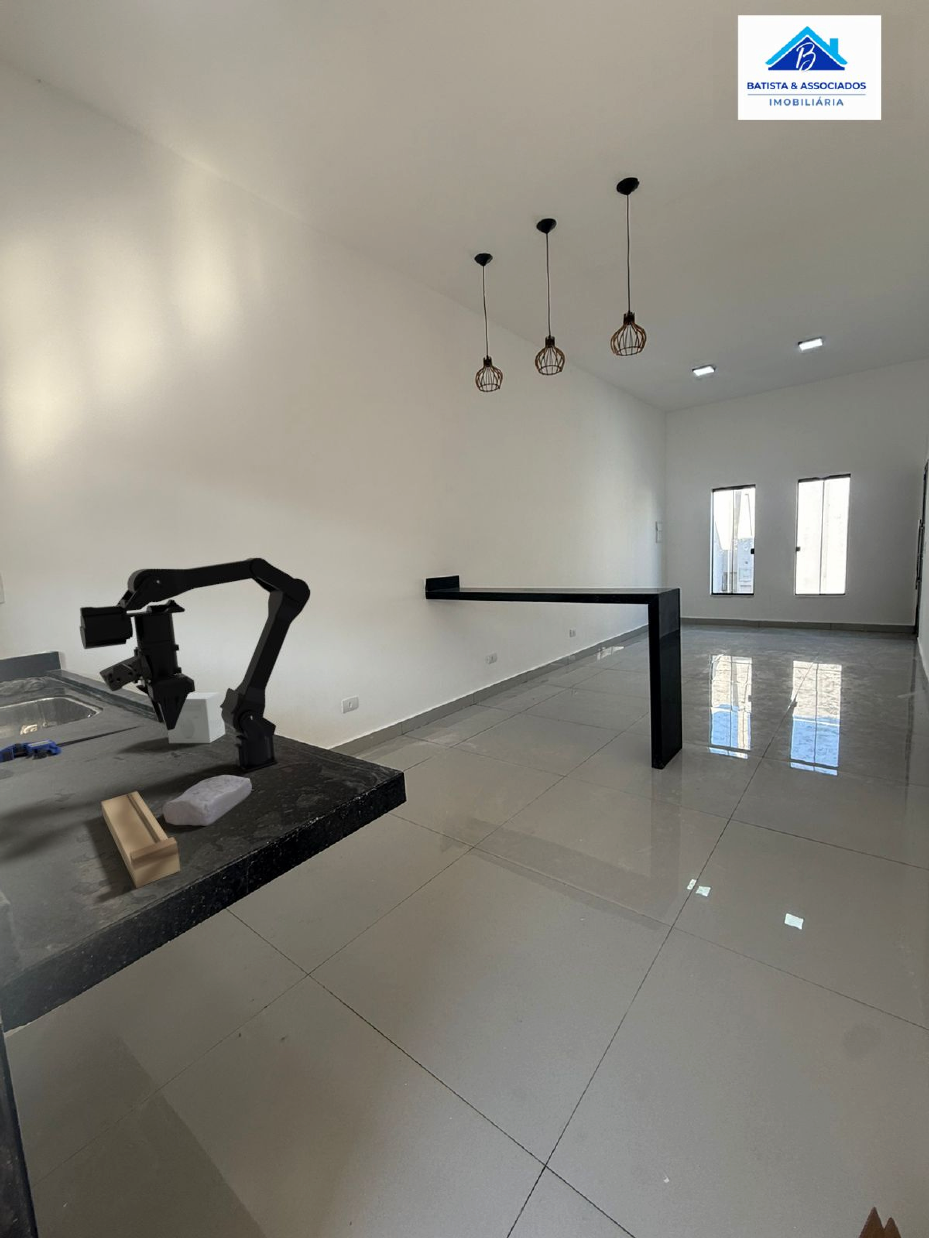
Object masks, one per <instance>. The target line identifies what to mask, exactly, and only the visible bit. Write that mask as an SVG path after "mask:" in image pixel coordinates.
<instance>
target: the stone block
mask: <svg viewBox="0 0 929 1238" xmlns="http://www.w3.org/2000/svg"><path fill="white" fill-rule="evenodd" d="M252 788H253V786H252V782H251V779H250V778H248V777H242V776H237V775H229V774H222V775H217V776H213V777H210V778H206V779H203V780H201V781H199V782H198V783H197V784H194V785H192V786H191V787H189V788H188V789H186V790H185V791H184V792H183V793H182V794H181V795H179V796H177V797H176V798H175V799H173V800H170V801H167V802H166V803H164V804H163V807H162V814H163V818H164V820H165V822H166V823H167V824H171V825H175V826H186V825H187V826H188V825H191V826H194V827H195V826H196V827H198V826H204V827H208V826H210V825H212V824H213V823H215V822H216V821H217V820H219V819H220V818H221V817H223V816H224V815H225V814H227V813H228V812H230V810H232V809H233V808H235V807H236V806H237V805H238V804H240V803H241V802H243V801H244V800H246V799H247V798H248V796H249V795H250V794H251V793H252V790H253V789H252Z"/></svg>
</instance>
